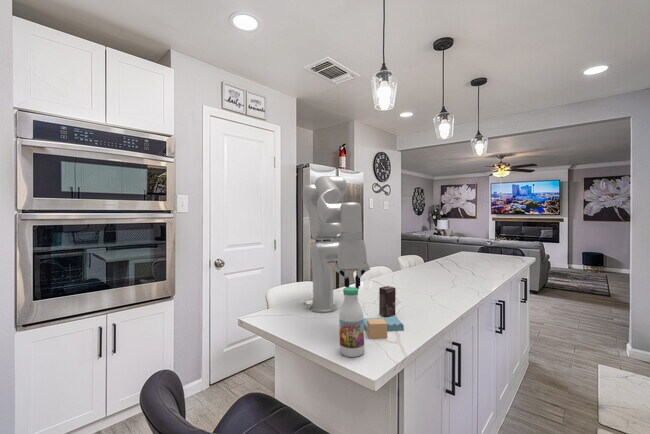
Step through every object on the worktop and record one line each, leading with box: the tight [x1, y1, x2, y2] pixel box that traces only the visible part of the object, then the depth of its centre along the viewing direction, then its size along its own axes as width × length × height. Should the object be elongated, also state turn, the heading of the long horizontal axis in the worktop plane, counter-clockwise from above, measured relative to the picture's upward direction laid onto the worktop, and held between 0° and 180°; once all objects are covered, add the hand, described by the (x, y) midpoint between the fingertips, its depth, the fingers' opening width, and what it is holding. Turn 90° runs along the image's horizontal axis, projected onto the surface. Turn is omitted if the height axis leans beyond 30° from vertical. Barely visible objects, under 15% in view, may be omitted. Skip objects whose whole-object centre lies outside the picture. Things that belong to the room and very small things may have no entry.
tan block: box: [366, 319, 388, 339], centre depth 105 cm, size 6×5×5 cm
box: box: [378, 285, 397, 318], centre depth 126 cm, size 6×4×12 cm
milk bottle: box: [338, 286, 365, 358], centre depth 92 cm, size 8×8×20 cm
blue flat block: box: [363, 316, 405, 333], centre depth 113 cm, size 14×9×2 cm, turn 94°
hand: (352, 288), depth 104 cm, fingers open, 2 cm apart
